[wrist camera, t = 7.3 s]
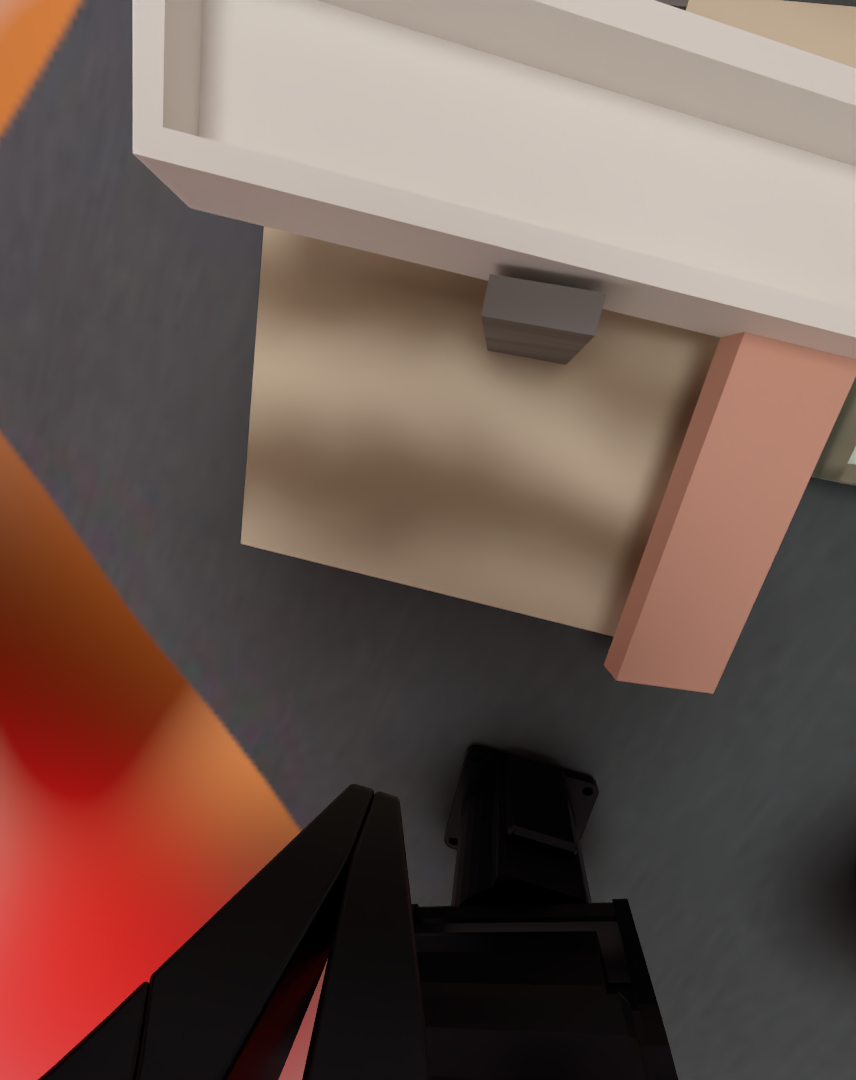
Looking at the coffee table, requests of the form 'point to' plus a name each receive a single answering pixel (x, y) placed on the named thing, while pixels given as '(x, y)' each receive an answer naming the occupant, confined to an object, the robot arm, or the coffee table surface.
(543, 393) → the lever stand
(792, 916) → the coffee table surface
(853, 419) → the tray
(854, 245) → the lever
